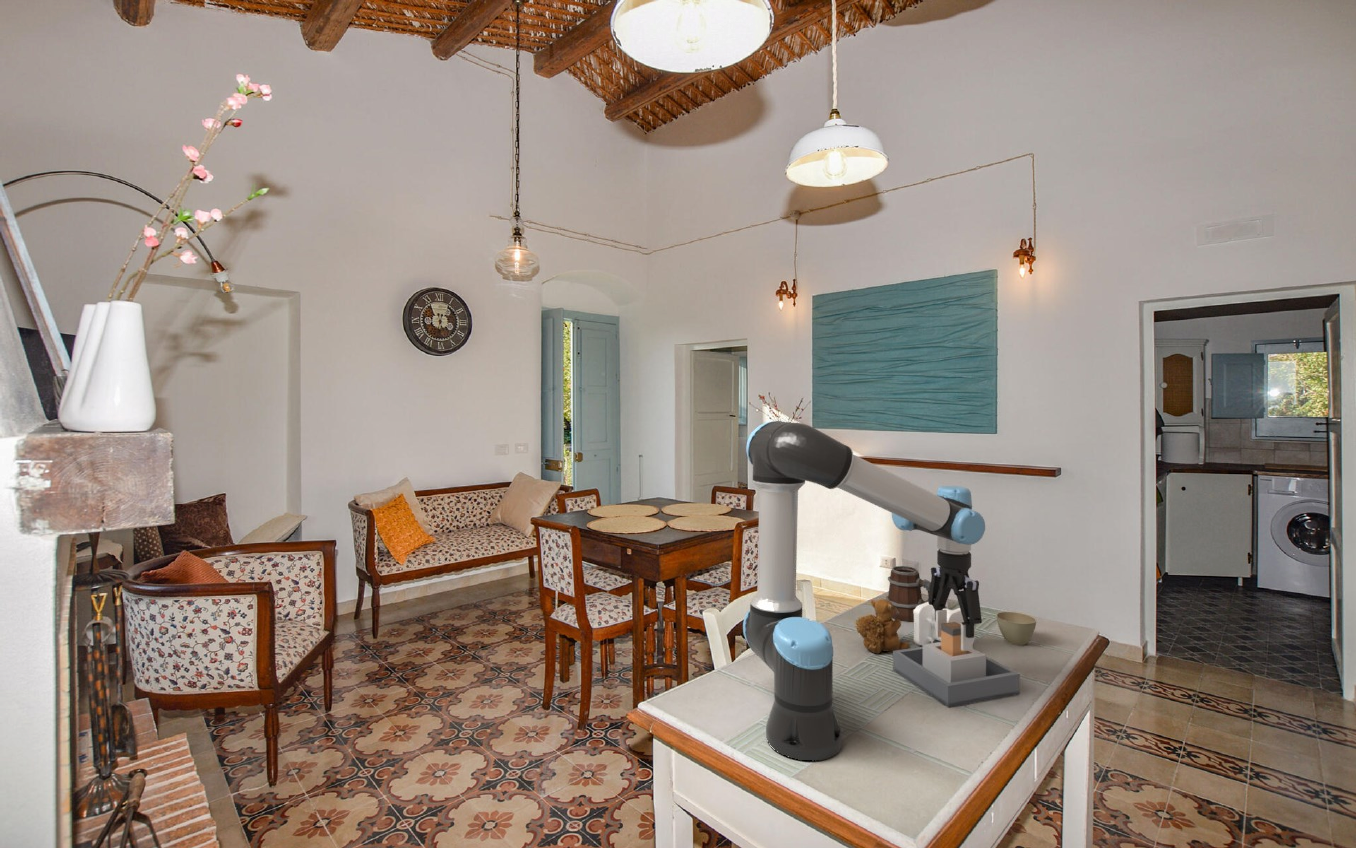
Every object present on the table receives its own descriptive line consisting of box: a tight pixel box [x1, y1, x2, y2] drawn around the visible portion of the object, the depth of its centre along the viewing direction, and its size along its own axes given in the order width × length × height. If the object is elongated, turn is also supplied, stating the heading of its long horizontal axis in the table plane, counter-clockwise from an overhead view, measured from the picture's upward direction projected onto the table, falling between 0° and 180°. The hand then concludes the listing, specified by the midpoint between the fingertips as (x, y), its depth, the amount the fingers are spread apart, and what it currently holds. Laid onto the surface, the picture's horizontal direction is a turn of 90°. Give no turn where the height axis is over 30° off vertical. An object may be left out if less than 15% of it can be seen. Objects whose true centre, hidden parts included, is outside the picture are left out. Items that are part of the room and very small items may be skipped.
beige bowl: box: [995, 611, 1037, 646], centre depth 173 cm, size 10×10×7 cm
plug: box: [940, 622, 967, 656], centre depth 149 cm, size 4×4×10 cm
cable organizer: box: [913, 601, 976, 647], centre depth 171 cm, size 15×11×12 cm
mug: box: [885, 565, 935, 623], centre depth 193 cm, size 16×12×15 cm
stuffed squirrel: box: [854, 598, 910, 654], centre depth 170 cm, size 10×14×13 cm
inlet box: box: [892, 641, 1021, 709], centre depth 149 cm, size 20×20×8 cm
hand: (953, 642), depth 149 cm, fingers open, 8 cm apart
